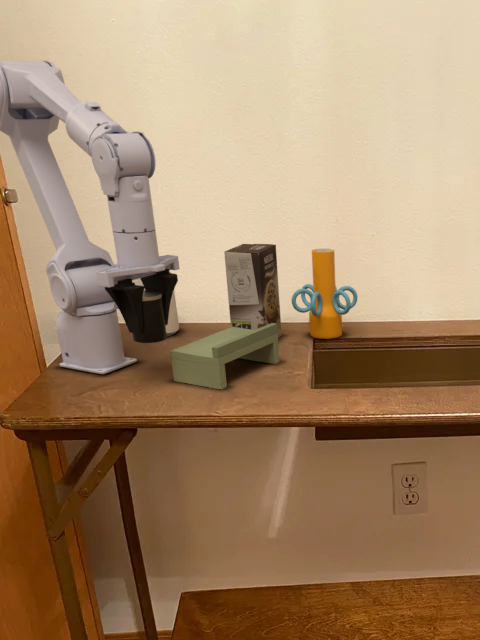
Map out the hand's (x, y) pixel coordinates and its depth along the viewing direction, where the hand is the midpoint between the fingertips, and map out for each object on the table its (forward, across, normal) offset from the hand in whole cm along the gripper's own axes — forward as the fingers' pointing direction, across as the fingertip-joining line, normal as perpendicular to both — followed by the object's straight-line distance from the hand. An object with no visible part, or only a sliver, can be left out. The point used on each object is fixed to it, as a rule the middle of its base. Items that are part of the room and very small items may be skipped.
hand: (148, 328), depth 117 cm
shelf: (+9, +11, -5) cm, 15 cm away
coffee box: (+9, +28, +1) cm, 30 cm away
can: (+9, +24, +20) cm, 33 cm away
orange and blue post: (+9, +37, -8) cm, 39 cm away
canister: (+2, 0, 0) cm, 2 cm away
